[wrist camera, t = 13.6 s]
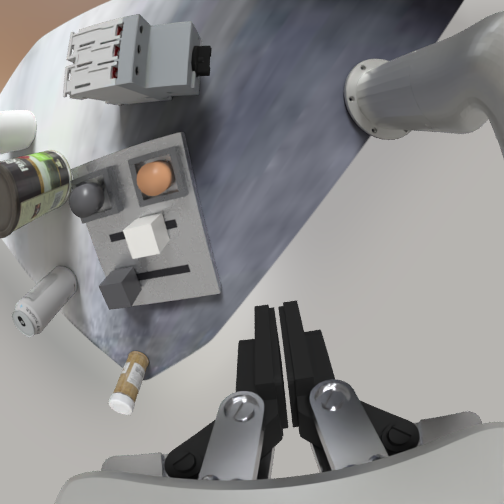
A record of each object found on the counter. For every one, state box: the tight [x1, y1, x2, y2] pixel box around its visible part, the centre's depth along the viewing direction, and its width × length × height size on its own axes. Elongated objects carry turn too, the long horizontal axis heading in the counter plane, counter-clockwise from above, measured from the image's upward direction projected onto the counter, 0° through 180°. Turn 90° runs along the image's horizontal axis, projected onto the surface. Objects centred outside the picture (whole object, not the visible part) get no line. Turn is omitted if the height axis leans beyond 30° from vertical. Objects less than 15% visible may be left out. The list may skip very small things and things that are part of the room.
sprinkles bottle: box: [109, 351, 149, 415], centre depth 46 cm, size 5×5×13 cm
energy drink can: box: [12, 266, 77, 337], centre depth 38 cm, size 6×6×15 cm
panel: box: [70, 132, 221, 306], centre depth 39 cm, size 18×24×4 cm
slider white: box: [123, 213, 170, 259], centre depth 36 cm, size 4×4×5 cm
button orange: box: [137, 160, 174, 196], centre depth 34 cm, size 4×4×3 cm
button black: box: [69, 182, 105, 218], centre depth 33 cm, size 4×4×3 cm
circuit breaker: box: [63, 14, 211, 106], centre depth 26 cm, size 8×14×15 cm, turn 88°
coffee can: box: [0, 150, 72, 238], centre depth 31 cm, size 10×10×14 cm
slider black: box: [99, 267, 142, 310], centre depth 39 cm, size 4×4×5 cm
